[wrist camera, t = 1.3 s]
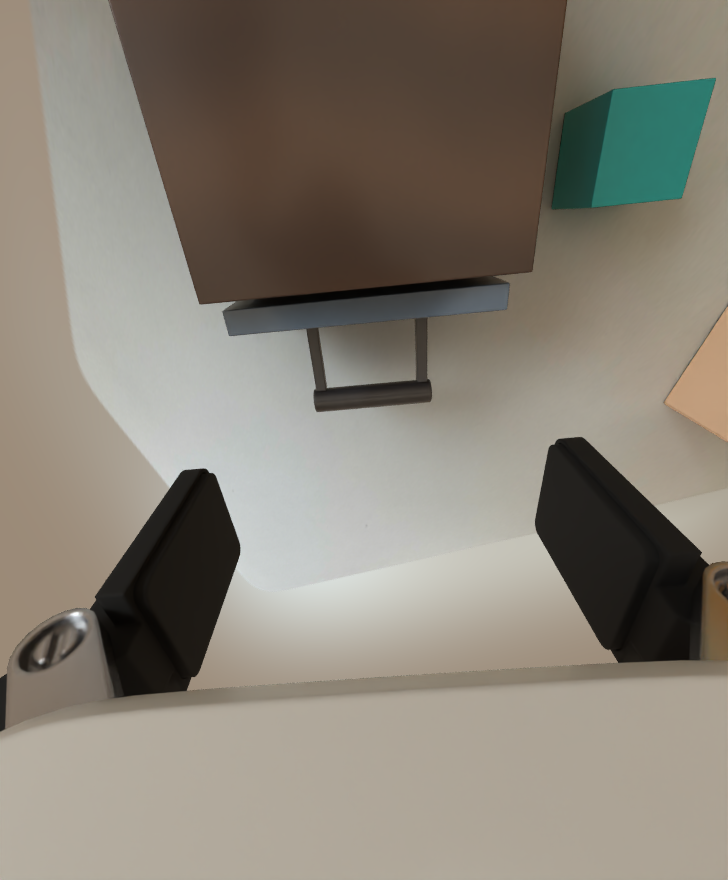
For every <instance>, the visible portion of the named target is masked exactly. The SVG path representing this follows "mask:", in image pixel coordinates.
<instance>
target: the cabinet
mask: <svg viewBox="0 0 728 880" xmlns="http://www.w3.org/2000/svg"><path fill="white" fill-rule="evenodd" d="M108 1H109V4H110V7H111V11H112V14H113V17H114V21H115V24H116V27H117V31H118V34H119V37H120V41H121V44H122V47H123V51H124V54H125V57H126V61H127V64H128V67H129V71H130V74H131V77H132V81H133V84H134V87H135V91H136V94H137V97H138V101H139V104H140V107H141V111H142V114H143V117H144V121H145V124H146V127H147V131H148V134H149V137H150V141H151V144H152V147H153V151H154V154H155V157H156V161H157V164H158V168H159V171H160V174H161V178H162V181H163V184H164V188H165V191H166V194H167V198H168V201H169V204H170V208H171V211H172V214H173V218H174V221H175V224H176V228H177V231H178V234H179V238H180V241H181V244H182V248H183V251H184V254H185V258H186V261H187V264H188V268H189V271H190V274H191V278H192V281H193V284H194V288H195V291H196V294H197V298H198V301H199V304H211V303H222V302H232V301H242V300H252V299H262V298H273V297H283V296H293V295H303V294H313V293H324V292H334V291H344V290H354V289H364V288H375V287H385V286H395V285H405V284H416V283H426V282H436V281H446V280H456V279H467V278H477V277H487V276H497V275H507V274H518V273H528V272H532V270H533V262H534V254H535V246H536V239H537V231H538V223H539V215H540V207H541V200H542V192H543V184H544V176H545V168H546V160H547V153H548V145H549V137H550V129H551V121H552V114H553V106H554V98H555V90H556V82H557V75H558V67H559V59H560V51H561V43H562V35H563V28H564V20H565V12H566V4H567V0H108Z"/></svg>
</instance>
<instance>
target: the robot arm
mask: <svg viewBox="0 0 728 880" xmlns="http://www.w3.org/2000/svg"><path fill="white" fill-rule="evenodd" d="M535 527H536V531H537V533H538V535H539V537H540V539H541V540H542V542H543V544H544V546H545V547H546V549H547V551H548V553H549V554H550V556H551V558H552V560H553V561H554V563H555V565H556V567H557V568H558V570H559V572H560V574H561V575H562V577H563V579H564V581H565V582H566V584H567V586H568V588H569V589H570V591H571V593H572V595H573V596H574V598H575V600H576V602H577V603H578V605H579V607H580V609H581V610H582V612H583V614H584V616H585V617H586V619H587V621H588V623H589V624H590V626H591V628H592V630H593V631H594V633H595V635H596V637H597V638H598V640H599V642H600V643H601V645H602V646H603V647H604V648H605V649H607V650H609V649H610V650H611V651H612V653H613V654H614V656H615V658H616V660H617V661H618V663H607V664H587V665H571V666H555V667H537V668H520V669H502V670H487V671H469V672H455V673H438V674H422V675H406V676H392V677H376V678H360V679H345V680H330V681H317V682H316V681H315V682H302V683H287V684H273V685H258V686H245V687H230V688H216V689H205V690H204V689H203V690H192V691H187V688H188V685H189V682H190V680H191V677H195V676H196V675H197V674H198V673H199V671H200V668H201V665H202V662H203V659H204V657H205V654H206V651H207V648H208V645H209V642H210V639H211V637H212V634H213V631H214V628H215V625H216V622H217V619H218V617H219V614H220V611H221V608H222V605H223V602H224V599H225V596H226V593H227V590H228V588H229V585H230V582H231V579H232V576H233V573H234V570H235V568H236V565H237V562H238V559H239V556H240V543H239V540H238V537H237V534H236V531H235V529H234V526H233V523H232V520H231V517H230V515H229V512H228V509H227V506H226V503H225V501H224V498H223V495H222V492H221V489H220V487H219V484H218V481H217V478H216V476H215V475H214V474H213V473H209V471H208V470H207V469H192V470H184V471H182V472H181V473H180V475H179V476H178V478H177V479H176V480H175V482H174V483H173V485H172V486H171V488H170V489H169V491H168V492H167V493H166V495H165V496H164V498H163V499H162V501H161V502H160V504H159V505H158V506H157V508H156V509H155V511H154V512H153V514H152V515H151V516H150V518H149V520H148V521H147V522H146V524H145V525H144V527H143V528H142V529H141V531H140V532H139V534H138V535H137V537H136V538H135V540H134V541H133V542H132V544H131V545H130V547H129V548H128V550H127V551H126V553H125V554H124V555H123V557H122V559H121V560H120V561H119V563H118V564H117V565H116V567H115V568H114V570H113V571H112V573H111V574H110V576H109V577H108V579H107V580H106V581H105V583H104V584H103V586H102V588H101V589H100V590H99V592H98V593H97V594H96V596H95V598H96V601H95V603H94V604H93V606H92V607H91V609H90V610H89V609H87V608H75V609H71V610H67V611H64V612H61V613H59V614H57V615H55V616H52V617H51V618H49V619H47V620H46V621H44V622H42V623H41V624H39V625H38V626H37V627H36V628H34V629H33V630H32V631H31V632H29V633H28V634H27V635H26V636H25V638H24V639H23V640H22V641H21V642H20V643H19V644H18V645H17V647H16V648H15V650H14V651H13V653H12V655H11V656H10V659H9V663H8V667H7V674H6V675H4V676H3V677H1V678H0V880H728V562H725V561H722V562H717V563H712V564H711V565H709V564H708V563H706V562H705V561H704V560H703V559H702V558H701V557H700V555H701V553H702V552H701V551H700V550H699V549H698V548H697V547H696V546H695V545H694V544H693V543H692V542H691V541H690V540H689V539H688V538H687V537H685V536H684V535H683V534H682V533H681V532H680V531H679V530H678V529H677V528H676V527H675V526H674V525H673V524H672V523H671V522H670V521H669V520H668V519H667V518H666V517H665V516H664V515H663V514H662V513H661V512H660V511H659V510H658V509H657V508H656V507H655V506H653V505H652V504H651V503H650V502H649V501H648V500H647V499H646V498H645V497H644V496H643V495H642V494H641V493H640V492H639V491H638V490H637V489H636V488H635V487H634V486H633V485H632V484H631V483H630V482H629V481H628V480H627V479H626V478H625V477H624V476H623V475H622V474H620V473H619V472H618V471H617V470H616V469H615V468H614V467H613V466H612V465H611V464H610V463H609V462H608V461H607V460H606V459H605V458H604V457H603V456H602V455H601V454H600V453H599V452H598V451H597V450H596V449H595V448H594V447H593V446H592V445H591V444H590V443H588V442H587V441H586V440H585V439H584V438H583V437H575V438H563V439H558V440H557V441H556V442H555V445H551V446H550V447H549V450H548V455H547V460H546V465H545V470H544V476H543V481H542V486H541V492H540V497H539V502H538V507H537V513H536V518H535Z"/></svg>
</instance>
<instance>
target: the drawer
mask: <svg viewBox="0 0 728 880" xmlns="http://www.w3.org/2000/svg"><path fill="white" fill-rule="evenodd" d="M509 285H510V284H509V283H508V282H506V281H503V280H501V279H499V278H496V277H494V276H487V277H477V278H467V279H456V280H446V281H436V282H426V283H416V284H405V285H395V286H385V287H375V288H364V289H354V290H344V291H334V292H324V293H313V294H303V295H293V296H283V297H273V298H262V299H252V300H242V301H236V302H235V303H233V304H232V305H231V306H229V307H228V308H226V309H225V310H223V316H224V319H225V323H226V327H227V330H228V334H229V336H237V335H247V334H258V333H268V332H279V331H289V330H300V329H306V330H307V336H308V342H309V348H310V354H311V360H312V366H313V372H314V378H315V384H316V389H315V390H314V405H315V409H316V411H317V412H324V411H336V410H347V409H358V408H370V407H381V406H392V405H403V404H415V403H426V402H431V399H432V389H431V382H430V380H429V379H427V317H436V316H447V315H457V314H468V313H478V312H489V311H499V310H507V305H508V295H509ZM405 319H415V350H416V380H412V381H401V382H389V383H378V384H367V385H356V386H345V387H334V388H327V383H326V376H325V370H324V363H323V356H322V350H321V343H320V336H319V330H318V328H321V327H331V326H342V325H352V324H363V323H373V322H384V321H394V320H405Z"/></svg>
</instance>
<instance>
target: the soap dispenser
mask: <svg viewBox="0 0 728 880" xmlns="http://www.w3.org/2000/svg"><path fill="white" fill-rule="evenodd" d="M664 403H665V405H667V406H669V407H670V408H672V409H673V410H675V411H677V412H678V413H680V414H682V415H683V416H685V417H687V418H688V419H690V420H692V421H693V422H695V423H697V424H698V425H700V426H702V427H703V428H705V429H707V430H708V431H710V432H711V433H713V434H715V435H716V436H718V437H720V438H721V439H723V440H725V441H726V442H728V307H727V308H726V310H725V311H724V313H723V314H722V316H721V317H720V319H719V320H718V322H717V323H716V325H715V326H714V328H713V329H712V331H711V332H710V334H709V335H708V337H707V338H706V340H705V341H704V343H703V344H702V346H701V347H700V349H699V350H698V352H697V353H696V355H695V356H694V358H693V359H692V361H691V362H690V364H689V365H688V367H687V368H686V370H685V371H684V373H683V374H682V376H681V378H680V379H679V381H678V382H677V384H676V385H675V387H674V388H673V390H672V391H671V393H670V394H669V396H668V397H667V399H666V400H665V402H664Z"/></svg>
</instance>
